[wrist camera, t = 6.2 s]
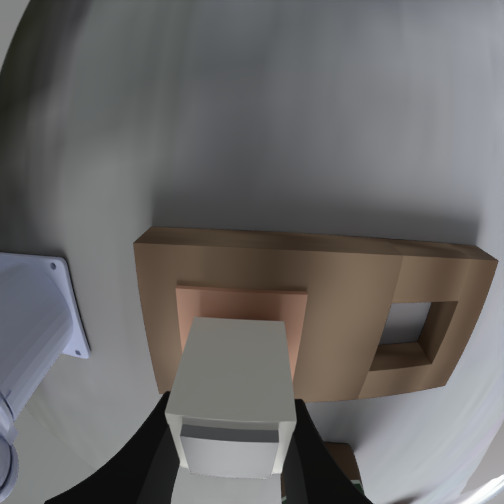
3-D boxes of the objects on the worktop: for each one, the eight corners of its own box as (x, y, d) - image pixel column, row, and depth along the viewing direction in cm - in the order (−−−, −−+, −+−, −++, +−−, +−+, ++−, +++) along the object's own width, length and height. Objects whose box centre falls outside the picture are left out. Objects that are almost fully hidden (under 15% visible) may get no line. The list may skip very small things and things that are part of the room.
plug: (199, 378, 14) (179, 476, 9) (194, 316, 13) (161, 425, 7) (276, 382, 14) (281, 482, 9) (284, 321, 13) (298, 434, 7)
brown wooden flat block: (167, 367, 19) (158, 396, 16) (150, 227, 15) (130, 245, 12) (432, 364, 19) (446, 388, 16) (475, 246, 15) (501, 262, 12)
